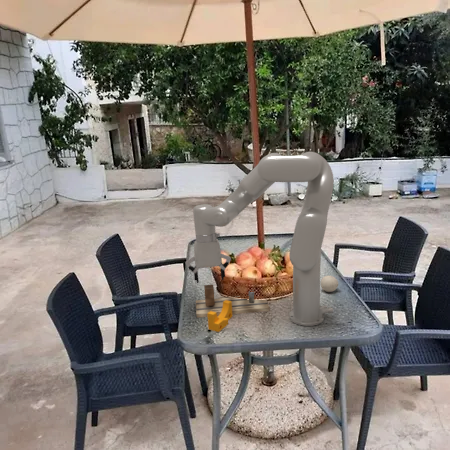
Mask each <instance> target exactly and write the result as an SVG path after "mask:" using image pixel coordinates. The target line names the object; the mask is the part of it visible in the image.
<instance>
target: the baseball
mask: <svg viewBox="0 0 450 450" xmlns="http://www.w3.org/2000/svg"><path fill="white" fill-rule="evenodd" d="M338 287H339V281H338V279H337V278H336V277H334V276H333V275H325V276H323V277H322V278H321V279H320V288H321V289H322V290H323V291H324V292H327V293H332V292H335V291H336V290H337V288H338Z"/></svg>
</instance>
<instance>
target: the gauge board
mask: <svg viewBox="0 0 450 450" xmlns="http://www.w3.org/2000/svg"><path fill="white" fill-rule="evenodd" d="M234 297H235V296H232V297H231V296H230V297H221V298H214V300H215V305H213V306H206V303H205V299H200V300H199V299H197V300H195V310H196V311H195V313H196V319H198V318H208V315H207V313H208V312H210V311H212V312H216V313H217V317H218V316H219V314H220V313H221V311H222V307H223V302H224V301H225V300H228V301H232V316H234V315H242V314H251V313H252V314H253V313H264V312H270V311H271V308H270V304H269V302H268V300H267V299H266V300H255V302H254V303H249V300H247V299H238V298H234Z"/></svg>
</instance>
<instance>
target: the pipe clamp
mask: <svg viewBox="0 0 450 450" xmlns="http://www.w3.org/2000/svg"><path fill="white" fill-rule="evenodd" d="M207 315H208V317H207V325H208V327H207V328H208V330H210V331H213V332H216V333H217V332H218V333H220V332H221V331H222V330H224V328H226V327H227V326H228V325H229V320H230V319H232V318H233V315H232V301H228V300H225V301H224V302H223V307H222V311H221V313H220V314H219V316H217V313H216V312H212V311H210V312H208V313H207Z"/></svg>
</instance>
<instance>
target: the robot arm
mask: <svg viewBox="0 0 450 450" xmlns="http://www.w3.org/2000/svg"><path fill="white" fill-rule="evenodd" d="M275 183H307V187H306V191H305V194H304V195H305V196H304V201H303V206H302V208H301V211H300V213H299V215H298V217H297V220H296V223H295V225H294V226H295V227H294V230H293V231H294V232H293V237H292V240H291V244H290V249H289V255H288V256H289V262H290V263H291V265H292V301H293V302H292V303H293V304H292V305H293V306H292V308H293V309H292V310H291V311H290V312H289V313H288V317H289V320H290V321H291V322H292V323H294V324H296V325H297V326H304V327H313V326H316V325H317V326H318V325H320V324H322V323H323V322H324V320H325V315H326V314H333V313H334V308H333V307H328V305H321V262H322V261H321V260H322V245H323V242H324V238H325V233H326V230H327V225H328V224H327V223H328V214H329V209H330V205H331V201H332V195H333V190H334V174H333V169H332V168H331V166H330V163H328V161H327V159H325V158H324V157H323V156H322V155H321V154H319V153H318V152H315V151H305V152H304V153H302V154H301V155H300V154H299V155H282V154H280V153H277V152H271V153H268V154H267V155H265V156H264V157H262V158H261V159H260V160H259V162H258V164H256V165H255V167H254V168H253V169H252V170H251V171H250V172H248V173H247V174H246V175H245V176H244V177H243V178H242V180H241V181H240V182H239V185H238V186H237V187H236V189H235V190H234V191H233V192H232V193H231V194H230V195H228V197H227V198H225V199H224V201H222V202H221V203H220V204H218V205H216V206H212V204H207V203H206V204H205V203H203V204H202V203H201V204H198V205H196V206H194V207H193V209H192V210H193V212H192V213H193V221H194V232H195V241H193V254H194V256H192V257H190V258H189V259H187V260H186V261H185V265H186V267H187V268H188V270H189V271H191V272H192V273H193V275H194V281H196V284H199V283H200V282H199V272H198V271H199V269H203V268H204V269H206V268H207V269H208V268H214V267H215V268H216V267H219V268H220V277H221V281H224V280H225V278H226V271H225V270H226V268H227V267H228V266H229V264H230V262H231V260H232V258H231V256H229V255H226V254H224V253H222V252H221V247H220V245H221V244H220V241H219V239H218V238H220V235H221V234H220V233H218V232H217V231H216V227H220V228H223V227H226V226H228V225H229V224H230V223H231V222H232V221H234V219H235V218H236V217H238V216H239V215H240V214H241V213H242V212H243V211H244V210H245V209H246V208H248V207H249V205H250V204H251V203H252V202H254V201H256V200H258V198H260V197H261V196H262V195H263V194H264V193H265V192H266V191H267V190H269V188H270V187H272V186H273V185H274V184H275ZM222 259H223V260H225V262H224V263H223V260H222ZM193 262H194V266H193V265H191V264H192V263H193Z"/></svg>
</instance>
